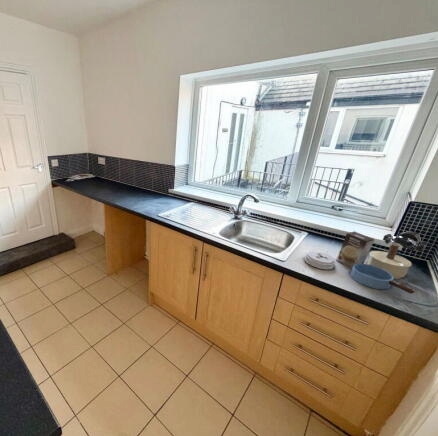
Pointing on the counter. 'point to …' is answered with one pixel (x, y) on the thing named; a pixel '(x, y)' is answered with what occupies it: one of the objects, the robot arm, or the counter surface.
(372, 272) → the pan
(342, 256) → the coffee box
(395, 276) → the pot
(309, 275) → the counter surface
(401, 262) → the pot lid
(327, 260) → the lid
